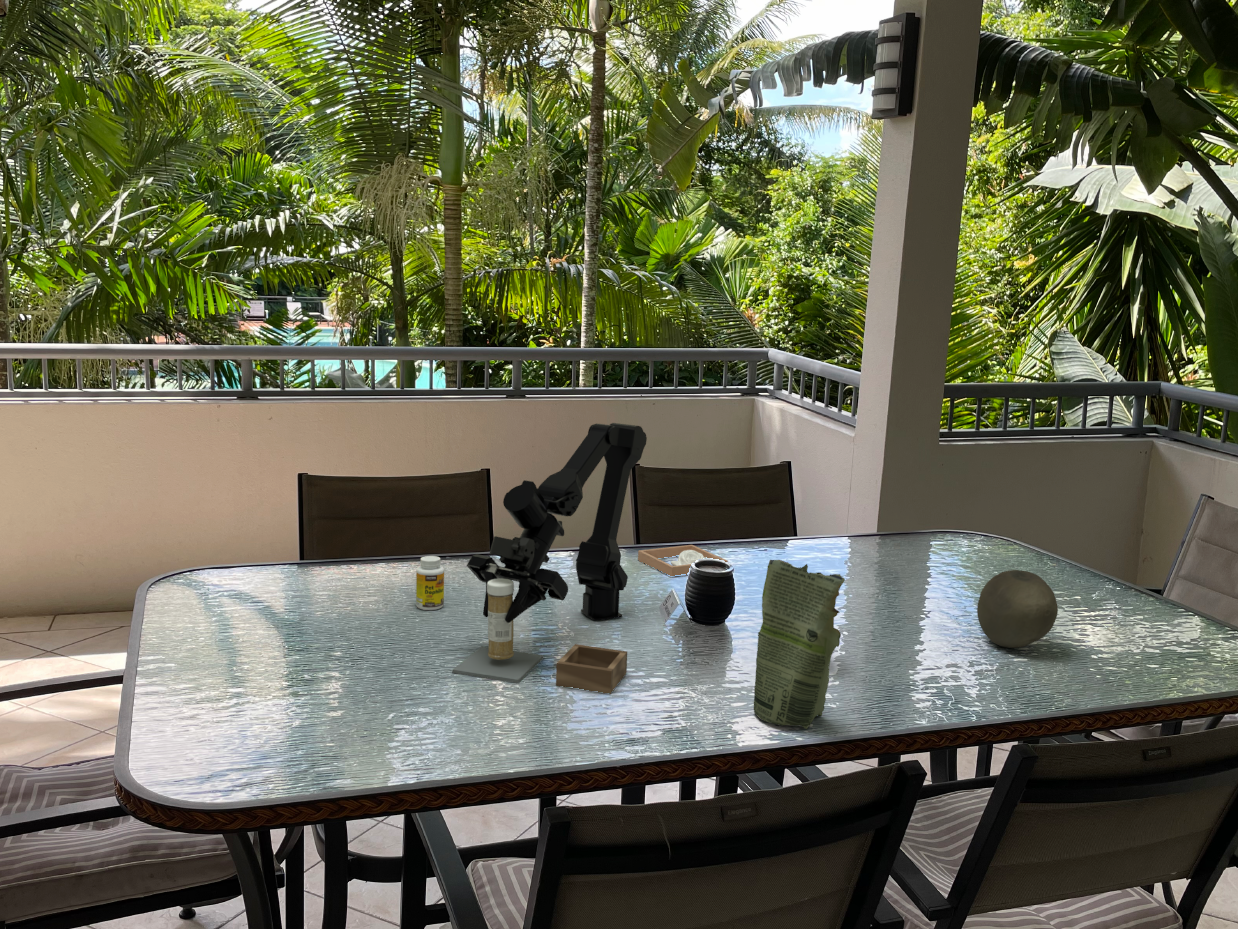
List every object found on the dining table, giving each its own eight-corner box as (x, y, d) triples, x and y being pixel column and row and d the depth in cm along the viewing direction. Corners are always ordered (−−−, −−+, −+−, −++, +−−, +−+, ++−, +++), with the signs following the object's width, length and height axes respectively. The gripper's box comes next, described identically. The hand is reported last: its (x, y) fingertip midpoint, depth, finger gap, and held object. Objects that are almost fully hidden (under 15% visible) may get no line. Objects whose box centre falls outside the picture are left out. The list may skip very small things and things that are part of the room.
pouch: (749, 701, 162) (759, 552, 157) (823, 704, 162) (835, 555, 157) (757, 731, 151) (767, 572, 146) (836, 734, 151) (849, 575, 146)
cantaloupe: (973, 653, 188) (981, 576, 185) (974, 630, 201) (981, 558, 198) (1054, 665, 183) (1063, 587, 180) (1049, 641, 196) (1058, 567, 193)
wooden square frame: (691, 554, 250) (692, 544, 249) (727, 570, 236) (727, 560, 236) (637, 560, 242) (638, 550, 242) (671, 577, 229) (671, 567, 229)
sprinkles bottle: (516, 651, 175) (516, 578, 172) (511, 661, 170) (511, 585, 168) (490, 650, 175) (489, 577, 173) (485, 660, 170) (484, 584, 168)
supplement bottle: (422, 612, 199) (422, 563, 197) (412, 605, 203) (412, 556, 201) (448, 608, 202) (448, 560, 200) (437, 601, 206) (437, 553, 204)
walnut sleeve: (574, 665, 174) (575, 644, 173) (626, 673, 171) (627, 651, 171) (555, 685, 165) (556, 663, 164) (610, 694, 162) (611, 671, 162)
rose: (702, 544, 244) (721, 554, 235) (701, 561, 245) (719, 572, 236) (665, 546, 240) (683, 557, 231) (664, 564, 241) (682, 575, 232)
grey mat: (481, 649, 180) (481, 646, 180) (543, 658, 177) (543, 655, 177) (452, 673, 169) (452, 669, 169) (518, 683, 165) (518, 679, 165)
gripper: (473, 510, 176) (431, 585, 169) (560, 526, 167) (519, 606, 160) (500, 543, 184) (461, 616, 177) (584, 561, 175) (547, 638, 168)
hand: (495, 618), depth 170 cm, fingers closed on sprinkles bottle, 4 cm apart
